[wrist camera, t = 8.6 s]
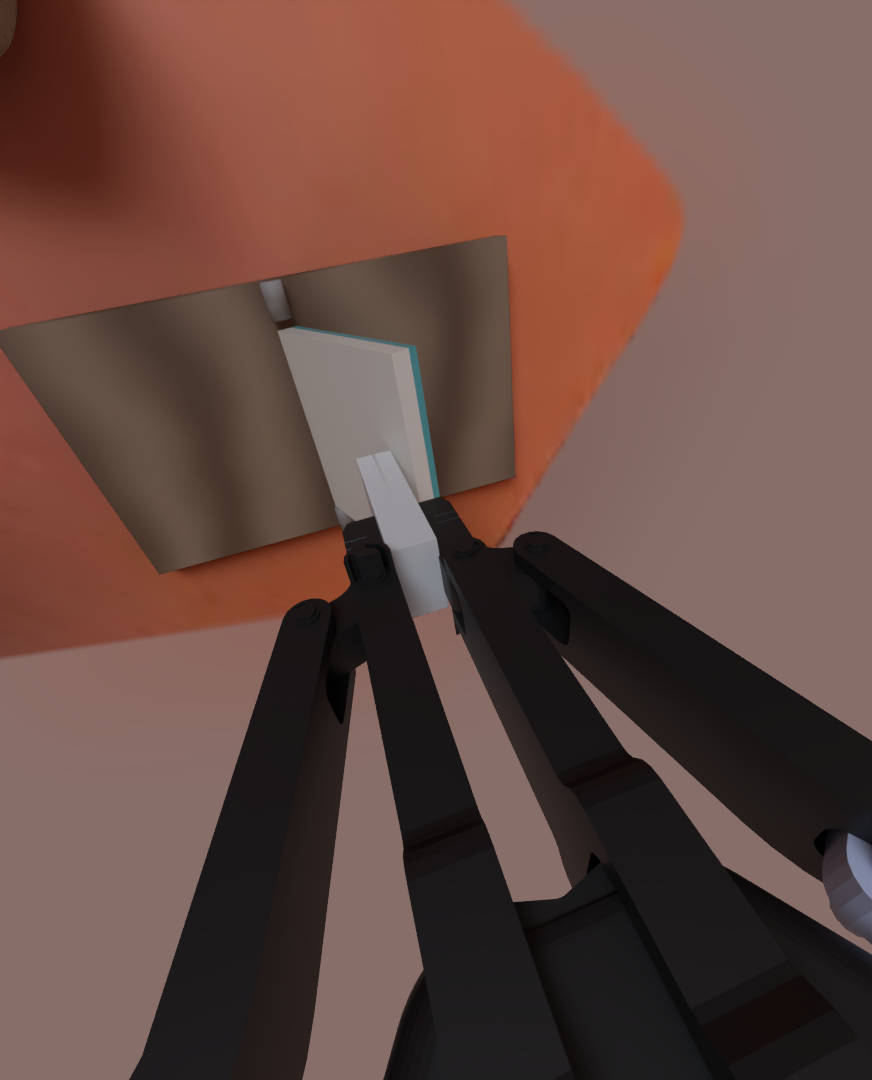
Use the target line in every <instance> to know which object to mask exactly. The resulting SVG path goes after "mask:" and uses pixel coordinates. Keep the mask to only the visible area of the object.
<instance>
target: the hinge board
mask: <svg viewBox="0 0 872 1080" xmlns="http://www.w3.org/2000/svg"><path fill="white" fill-rule="evenodd" d="M295 326H300V327H306V328H312V329H318V330H324V331H330V332H336V333H342V334H348V335H354V336H360V337H366V338H372V339H378V340H385V341H391V342H397V343H403V344H409V345H415V346H416V350H417V356H418V362H419V369H420V375H421V381H422V387H423V394H424V400H425V406H426V413H427V419H428V425H429V431H430V438H431V444H432V450H433V457H434V463H435V469H436V476H437V482H438V488H439V494H440V497H444V496H447V495H451V494H454V493H458V492H462V491H465V490H469V489H473V488H476V487H480V486H484V485H487V484H491V483H495V482H498V481H502V480H505V479H509V478H513V477H515V454H514V426H513V398H512V370H511V342H510V314H509V286H508V258H507V236H492V237H487V238H481V239H476V240H471V241H465V242H460V243H455V244H450V245H444V246H439V247H434V248H428V249H423V250H418V251H412V252H407V253H402V254H397V255H391V256H386V257H381V258H375V259H370V260H365V261H359V262H354V263H349V264H344V265H338V266H333V267H328V268H322V269H317V270H312V271H306V272H301V273H296V274H291V275H285V276H280V277H275V278H269V279H264V280H259V281H253V282H248V283H243V284H238V285H232V286H227V287H222V288H216V289H211V290H206V291H200V292H195V293H190V294H185V295H179V296H174V297H169V298H163V299H158V300H153V301H147V302H142V303H137V304H132V305H126V306H121V307H116V308H110V309H105V310H100V311H94V312H89V313H84V314H79V315H73V316H68V317H63V318H57V319H52V320H47V321H41V322H36V323H31V324H26V325H20V326H15V327H10V328H6V329H3V330H0V348H1V349H2V350H3V352H4V353H5V355H6V356H7V358H8V359H9V360H10V362H11V363H12V365H13V366H14V368H15V369H16V370H17V372H18V373H19V375H20V376H21V378H22V379H23V380H24V382H25V383H26V385H27V386H28V387H29V389H30V390H31V392H32V393H33V395H34V396H35V397H36V399H37V400H38V402H39V403H40V405H41V406H42V407H43V409H44V410H45V412H46V413H47V415H48V416H49V417H50V419H51V420H52V422H53V423H54V425H55V426H56V427H57V429H58V430H59V432H60V433H61V435H62V436H63V437H64V439H65V440H66V442H67V443H68V445H69V446H70V447H71V449H72V450H73V452H74V453H75V455H76V456H77V457H78V459H79V460H80V462H81V463H82V465H83V466H84V467H85V469H86V470H87V472H88V473H89V475H90V476H91V477H92V479H93V480H94V482H95V483H96V485H97V486H98V487H99V489H100V490H101V492H102V493H103V495H104V496H105V497H106V499H107V500H108V502H109V503H110V505H111V506H112V507H113V509H114V510H115V512H116V513H117V515H118V516H119V517H120V519H121V520H122V522H123V523H124V525H125V526H126V527H127V529H128V530H129V532H130V533H131V535H132V536H133V537H134V539H135V540H136V542H137V543H138V545H139V546H140V547H141V549H142V550H143V552H144V553H145V555H146V556H147V557H148V559H149V560H150V562H151V563H152V565H153V566H154V567H155V569H156V570H157V572H158V573H159V575H160V574H163V573H167V572H171V571H174V570H178V569H181V568H185V567H189V566H192V565H196V564H200V563H203V562H207V561H211V560H214V559H218V558H222V557H225V556H229V555H232V554H236V553H240V552H243V551H247V550H251V549H254V548H258V547H262V546H265V545H269V544H272V543H276V542H280V541H283V540H287V539H291V538H294V537H298V536H302V535H305V534H309V533H313V532H316V531H320V530H323V529H327V528H331V527H334V526H338V525H340V527H341V529H342V530H343V531H344V529H345V526H346V524H347V523H350V522H354V521H355V520H353V519H352V518H351V517H349V516H348V515H347V514H346V513H344V512H343V511H342V510H340V509H339V508H338V507H336V506H335V503H334V500H333V497H332V494H331V491H330V488H329V485H328V481H327V478H326V475H325V472H324V469H323V466H322V463H321V460H320V457H319V454H318V451H317V448H316V445H315V442H314V439H313V436H312V433H311V430H310V427H309V424H308V421H307V418H306V415H305V412H304V409H303V406H302V403H301V400H300V397H299V394H298V391H297V388H296V385H295V382H294V379H293V376H292V373H291V370H290V367H289V364H288V361H287V358H286V355H285V352H284V349H283V346H282V343H281V340H280V337H279V334H278V331H280V330H283V329H287V328H291V327H295Z"/></svg>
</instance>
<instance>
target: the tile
mask: <svg viewBox="0 0 872 1080" xmlns="http://www.w3.org/2000/svg"><path fill="white" fill-rule="evenodd" d="M278 334H279V337H280V340H281V343H282V346H283V349H284V352H285V355H286V358H287V361H288V364H289V367H290V370H291V373H292V376H293V379H294V382H295V385H296V388H297V391H298V394H299V397H300V400H301V403H302V406H303V409H304V412H305V415H306V418H307V421H308V424H309V427H310V430H311V433H312V436H313V439H314V442H315V445H316V448H317V451H318V454H319V457H320V460H321V463H322V466H323V469H324V472H325V475H326V478H327V481H328V485H329V488H330V491H331V494H332V497H333V500H334V503H335V506H336V507H338V508H339V509H340V510H342V511H343V512H344V513H346V514H347V515H348V516H349V517H351V518H352V519H353V520H355V521H358V520H361V519H365V518H368V517H372V515H371V511H370V508H369V504H368V500H367V497H366V493H365V489H364V486H363V482H362V478H361V475H360V471H359V468H358V464H357V460H356V459H358V458H362V457H365V456H369V455H373V454H377V453H381V452H385V451H389V450H390V451H391V453H392V455H393V457H394V458H395V460H396V462H397V464H398V466H399V468H400V470H401V472H402V474H403V476H404V477H405V479H406V481H407V483H408V485H409V487H410V489H411V491H412V493H413V495H414V496H415V498H416V500H417V502H418V503H419V502H423V501H426V500H430V499H433V498H437V497H440V494H439V488H438V482H437V476H436V469H435V463H434V457H433V450H432V444H431V438H430V431H429V425H428V419H427V413H426V406H425V400H424V394H423V387H422V381H421V375H420V369H419V362H418V356H417V350H416V346H415V345H409V344H403V343H397V342H391V341H385V340H378V339H372V338H366V337H360V336H354V335H348V334H342V333H336V332H330V331H324V330H318V329H312V328H306V327H300V326H295V327H291V328H287V329H283V330H280V331H278Z"/></svg>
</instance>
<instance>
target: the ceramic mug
mask: <svg viewBox="0 0 872 1080" xmlns="http://www.w3.org/2000/svg"><path fill="white" fill-rule="evenodd" d="M16 19H17V0H0V57H1V56H2V55H3V54H4V53H5V51H6V50H7V49H8V48H9V46H10V45H11V42H12V39H13V36H14V33H15V29H16Z"/></svg>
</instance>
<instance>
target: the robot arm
mask: <svg viewBox="0 0 872 1080" xmlns="http://www.w3.org/2000/svg"><path fill="white" fill-rule="evenodd" d="M356 460H357V464H358V468H359V471H360V475H361V478H362V482H363V486H364V489H365V493H366V497H367V500H368V504H369V508H370V511H371V515H372V517H368V518H365V519H361V520H358V521H354V522H350V523H347V524H346V526H345V529H344V531H343V537H344V542H345V547H346V552H347V554H346V555H345V556H344V565H345V568H346V571H347V573H348V576H349V579H350V582H351V584H350V586H349V588H348V589H347V591H346V592H345V593H343V594H342V595H341V596H340V597H338V598H337V599H335V600H333V601H331V602H330V603H328V602H327V601H325V600H322V599H308V600H305V601H302V602H300V603H298V604H296V605H294V606H293V607H292V608H291V609H290V610H289V611H288V612H287V613H286V615H285V616H284V618H283V621H282V624H281V627H280V630H279V633H278V636H277V639H276V642H275V646H274V649H273V652H272V655H271V658H270V661H269V664H268V667H267V670H266V673H265V676H264V680H263V683H262V686H261V689H260V692H259V695H258V698H257V701H256V704H255V707H254V711H253V714H252V717H251V720H250V723H249V726H248V729H247V732H246V735H245V739H244V742H243V745H242V748H241V751H240V754H239V757H238V760H237V763H236V766H235V769H234V773H233V776H232V779H231V782H230V785H229V788H228V791H227V794H226V798H225V801H224V804H223V807H222V810H221V813H220V816H219V819H218V822H217V825H216V828H215V832H214V835H213V838H212V841H211V844H210V847H209V850H208V853H207V857H206V859H205V863H204V866H203V869H202V872H201V875H200V878H199V881H198V884H197V887H196V891H195V894H194V897H193V900H192V903H191V906H190V909H189V912H188V916H187V918H186V921H185V925H184V928H183V931H182V934H181V937H180V940H179V944H178V946H177V950H176V953H175V956H174V959H173V962H172V965H171V968H170V971H169V974H168V978H167V980H166V983H165V987H164V990H163V993H162V996H161V999H160V1002H159V1005H158V1009H157V1011H156V1015H155V1018H154V1021H153V1024H152V1027H151V1030H150V1033H149V1036H148V1039H147V1043H146V1046H145V1049H144V1052H143V1055H142V1057H141V1059H140V1061H139V1063H138V1065H137V1066H136V1068H135V1070H134V1072H133V1074H132V1076H131V1078H130V1079H129V1080H302V1078H303V1074H304V1070H305V1065H306V1061H307V1055H308V1048H309V1043H310V1036H311V1030H312V1024H313V1018H314V1011H315V1003H316V995H317V986H318V978H319V970H320V962H321V954H322V945H323V937H324V929H325V921H326V912H327V904H328V897H329V888H330V880H331V872H332V864H333V856H334V848H335V839H336V831H337V822H338V815H339V807H340V799H341V790H342V781H343V774H344V766H345V758H346V749H347V741H348V733H349V725H350V716H351V709H352V700H353V692H354V684H355V676H356V670H355V668H356V667H358V666H360V665H361V664H362V663H364V662H365V661H367V665H368V670H369V674H370V680H371V684H372V689H373V694H374V700H375V704H376V710H377V715H378V720H379V725H380V730H381V735H382V740H383V745H384V750H385V755H386V760H387V765H388V770H389V775H390V780H391V785H392V790H393V794H394V800H395V804H396V810H397V815H398V819H399V824H400V830H401V834H402V840H403V847H404V850H403V861H404V868H405V874H406V880H407V885H408V891H409V895H410V901H411V906H412V911H413V916H414V922H415V927H416V932H417V937H418V942H419V947H420V953H421V958H422V963H423V968H424V970H423V972H422V973H421V975H420V976H419V978H418V980H417V982H416V983H415V985H414V987H413V990H412V991H411V993H410V995H409V998H408V1000H407V1003H406V1006H405V1008H404V1011H403V1013H402V1016H401V1019H400V1022H399V1026H398V1029H397V1033H396V1036H395V1040H394V1043H393V1047H392V1051H391V1054H390V1058H389V1061H388V1065H387V1069H386V1072H385V1076H384V1079H383V1080H872V955H871V954H869V953H868V952H866V951H865V950H863V949H861V948H859V947H858V946H856V945H855V944H853V943H851V942H850V941H848V940H846V939H845V938H843V937H841V936H840V935H838V934H836V933H835V932H833V931H831V930H830V929H828V928H826V927H825V926H823V925H822V924H820V923H818V922H816V921H815V920H813V919H811V918H810V917H808V916H806V915H805V914H803V913H802V912H800V911H798V910H797V909H795V908H793V907H792V906H790V905H788V904H787V903H785V902H783V901H782V900H780V899H778V898H776V897H775V896H773V895H772V894H770V893H768V892H767V891H765V890H763V889H762V888H760V887H758V886H757V885H755V884H753V883H752V882H750V881H748V880H747V879H745V878H743V877H742V876H740V875H738V874H737V873H735V872H733V871H732V870H730V869H728V868H726V867H724V866H722V864H721V863H720V861H719V860H718V859H717V857H716V856H715V854H714V853H713V852H712V850H711V849H710V847H709V846H708V845H707V843H706V842H705V840H704V839H703V838H702V836H701V835H700V833H699V832H698V830H697V829H696V828H695V826H694V825H693V823H692V822H691V821H690V819H689V818H688V816H687V815H686V813H685V812H684V811H683V809H682V808H681V806H680V805H679V804H678V802H677V801H676V799H675V798H674V797H673V795H672V794H671V792H670V791H669V789H668V788H667V787H666V785H665V784H664V783H663V781H662V780H661V778H660V777H659V776H658V775H657V773H656V772H655V771H654V770H653V769H652V767H651V766H650V765H648V764H647V763H646V762H645V761H643V760H642V759H638V758H634V757H632V756H631V755H629V754H628V753H627V752H626V751H625V749H624V748H623V746H622V745H621V743H620V742H619V741H618V739H617V738H616V736H615V735H614V733H613V732H612V730H611V729H610V727H609V726H608V724H607V723H606V721H605V720H604V718H603V717H602V716H601V714H600V713H599V711H598V710H597V708H596V707H595V705H594V704H593V702H592V701H591V699H590V698H589V696H588V695H587V693H586V692H585V691H584V689H583V688H582V686H581V685H580V683H579V682H578V680H577V679H576V677H575V676H574V674H573V673H572V671H571V670H570V668H569V667H568V665H567V664H566V663H565V661H564V660H563V658H562V657H564V658H565V659H566V660H567V661H568V662H569V663H570V664H571V665H572V666H574V668H576V669H577V670H578V671H579V672H580V673H581V674H582V675H583V676H585V678H586V679H588V680H589V681H590V682H591V683H592V684H593V685H594V686H595V687H596V688H597V689H599V691H601V692H602V693H603V694H604V695H605V696H606V697H607V698H608V699H609V700H610V701H611V702H613V703H614V704H615V705H616V706H617V707H618V708H619V709H620V710H621V711H622V712H623V713H625V714H626V715H627V716H628V717H629V718H630V719H631V720H632V721H633V722H634V723H635V724H637V725H638V726H639V727H640V728H641V729H642V730H643V731H644V732H645V733H646V734H647V735H648V736H650V737H651V738H652V739H653V740H654V741H655V742H656V743H657V744H658V745H659V746H660V747H662V748H663V749H664V750H665V751H666V752H667V753H668V754H669V755H670V756H671V757H673V758H674V759H675V760H676V761H677V762H678V763H679V764H680V765H681V766H682V767H683V768H684V769H685V770H687V771H688V772H689V773H690V774H691V775H692V776H693V777H694V778H695V779H696V780H697V781H699V782H700V783H701V784H702V785H703V786H704V787H705V788H706V789H707V790H708V791H709V792H711V793H712V794H713V795H714V796H715V797H716V798H717V799H718V800H719V801H720V802H721V803H723V804H724V805H725V806H726V807H727V808H728V809H729V810H730V811H731V812H732V813H733V814H734V815H736V816H737V817H738V818H739V819H740V820H741V821H742V822H743V823H744V824H746V825H747V826H748V827H749V828H750V829H751V830H753V831H754V832H755V833H756V834H757V835H758V836H760V837H761V838H762V839H763V840H764V841H765V842H767V843H768V844H769V845H770V846H771V847H773V848H774V849H775V850H777V851H778V852H779V853H781V854H782V855H783V856H785V857H786V858H787V859H789V860H790V861H792V862H793V863H795V864H796V865H797V866H798V867H800V868H801V869H802V870H804V871H805V872H807V873H808V874H810V875H812V876H813V877H815V878H816V879H818V880H820V881H821V882H823V884H824V887H825V890H826V893H827V895H828V897H829V900H830V908H831V910H832V912H833V914H834V915H835V917H836V919H837V920H838V921H839V922H840V923H841V924H842V925H843V926H844V927H845V928H846V929H847V930H848V931H850V932H852V933H853V934H855V935H856V936H859V937H863V938H865V939H866V940H867V941H868V942H870V943H871V944H872V741H871V740H869V739H868V738H866V737H864V736H863V735H861V734H860V733H858V732H857V731H855V730H854V729H852V728H851V727H849V726H847V725H846V724H844V723H843V722H841V721H840V720H838V719H837V718H835V717H834V716H832V715H831V714H829V713H827V712H826V711H824V710H823V709H821V708H819V707H818V706H816V705H815V704H813V703H812V702H810V701H809V700H807V699H806V698H804V697H803V696H801V695H800V694H798V693H796V692H795V691H793V690H792V689H790V688H789V687H787V686H786V685H784V684H783V683H781V682H779V681H778V680H776V679H775V678H773V677H772V676H770V675H769V674H767V673H765V672H764V671H762V670H761V669H759V668H758V667H756V666H755V665H753V664H751V663H750V662H748V661H747V660H745V659H744V658H742V657H741V656H739V655H738V654H736V653H734V652H733V651H731V650H730V649H728V648H726V647H725V646H724V645H722V644H721V643H719V642H717V641H716V640H714V639H713V638H711V637H710V636H708V635H707V634H705V633H704V632H702V631H700V630H699V629H697V628H696V627H694V626H693V625H691V624H689V623H688V622H686V621H685V620H683V619H682V618H680V617H679V616H677V615H676V614H674V613H673V612H671V611H669V610H668V609H666V608H665V607H663V606H662V605H660V604H659V603H657V602H655V601H654V600H652V599H651V598H649V597H648V596H646V595H644V594H643V593H641V592H640V591H638V590H637V589H635V588H634V587H632V586H631V585H629V584H628V583H626V582H625V581H623V580H621V579H620V578H618V577H617V576H615V575H614V574H612V573H611V572H609V571H607V570H606V569H604V568H603V567H601V566H600V565H598V564H597V563H595V562H594V561H592V560H590V559H589V558H587V557H586V556H584V555H583V554H581V553H580V552H578V551H577V550H575V549H573V548H572V547H570V546H569V545H567V544H566V543H564V542H562V541H561V540H559V539H558V538H556V537H555V536H553V535H551V534H548V533H546V532H539V531H535V532H528V533H525V534H522V535H520V536H519V537H517V538H516V539H515V542H514V544H513V547H509V548H490V547H487V546H486V545H485V544H484V543H483V542H482V541H481V540H479V539H476V538H473V537H472V535H471V534H470V532H469V531H468V529H467V528H466V526H465V525H464V523H463V522H462V520H461V519H460V517H459V516H458V514H457V512H456V511H455V509H454V508H453V506H452V505H451V503H450V502H449V501H447V500H445V499H443V498H441V497H437V498H433V499H430V500H426V501H423V502H419V503H418V502H417V500H416V498H415V496H414V495H413V493H412V491H411V489H410V487H409V485H408V483H407V481H406V479H405V477H404V476H403V474H402V472H401V470H400V468H399V466H398V464H397V462H396V460H395V458H394V457H393V455H392V453H391V451H390V450H389V451H385V452H381V453H377V454H373V455H369V456H365V457H362V458H358V459H356ZM447 598H448V600H449V602H450V605H451V607H452V611H453V617H454V623H455V629H456V634H457V635H458V634H460V633H461V635H462V638H463V640H464V642H465V644H466V646H467V648H468V651H469V653H470V655H471V657H472V659H473V661H474V663H475V666H476V668H477V670H478V672H479V674H480V676H481V679H482V681H483V683H484V685H485V687H486V689H487V692H488V694H489V696H490V698H491V700H492V703H493V705H494V707H495V709H496V711H497V714H498V716H499V718H500V720H501V722H502V724H503V726H504V729H505V731H506V733H507V735H508V737H509V740H510V742H511V744H512V746H513V748H514V750H515V753H516V755H517V757H518V759H519V761H520V764H521V766H522V768H523V770H524V772H525V774H526V777H527V779H528V781H529V783H530V785H531V787H532V790H533V792H534V794H535V796H536V798H537V801H538V803H539V805H540V807H541V809H542V811H543V814H544V816H545V818H546V820H547V822H548V824H549V827H550V829H551V831H552V833H553V835H554V838H555V840H556V843H557V846H558V848H559V852H560V856H561V859H562V863H563V866H564V869H565V871H566V874H567V877H568V879H569V881H570V884H571V886H572V889H571V890H570V891H569V892H568V893H567V894H566V895H565V896H563V897H561V898H558V899H550V900H537V901H524V902H513V901H512V898H511V895H510V892H509V889H508V887H507V884H506V881H505V878H504V875H503V872H502V869H501V866H500V864H499V861H498V858H497V855H496V852H495V849H494V846H493V844H492V841H491V838H490V835H489V833H488V830H487V828H486V825H485V823H484V821H483V819H482V818H481V815H480V813H479V810H478V807H477V805H476V801H475V798H474V796H473V793H472V790H471V787H470V784H469V781H468V778H467V775H466V772H465V770H464V767H463V764H462V761H461V758H460V755H459V752H458V749H457V746H456V743H455V740H454V738H453V735H452V732H451V729H450V726H449V723H448V720H447V718H446V715H445V712H444V709H443V706H442V703H441V700H440V697H439V694H438V691H437V689H436V685H435V683H434V680H433V677H432V674H431V671H430V668H429V665H428V662H427V660H426V656H425V654H424V651H423V648H422V645H421V642H420V639H419V636H418V634H417V630H416V628H415V625H414V622H413V619H412V618H415V617H418V616H421V615H424V614H428V613H431V612H434V611H437V610H440V609H443V608H446V607H448V601H447ZM561 656H562V657H561Z"/></svg>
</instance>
